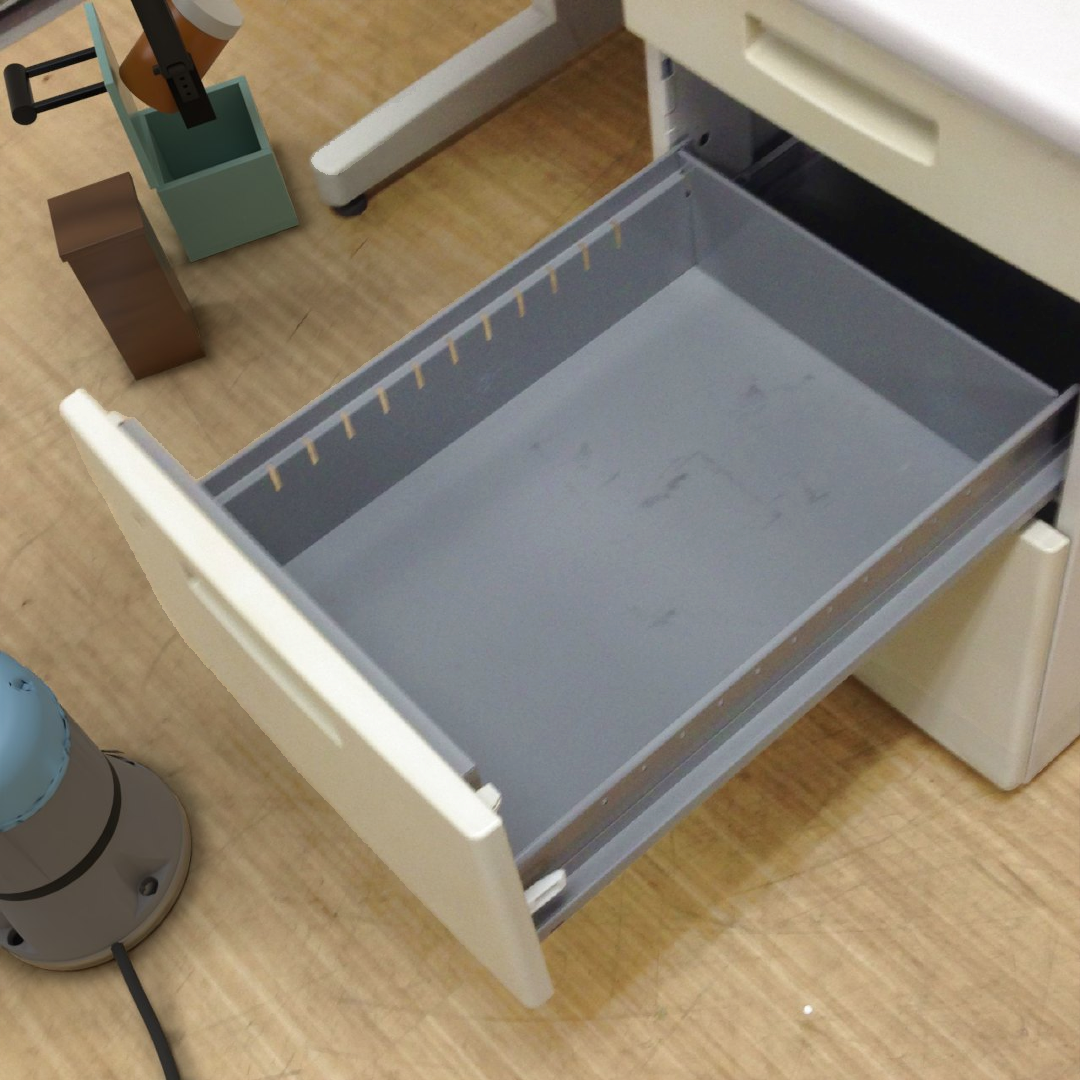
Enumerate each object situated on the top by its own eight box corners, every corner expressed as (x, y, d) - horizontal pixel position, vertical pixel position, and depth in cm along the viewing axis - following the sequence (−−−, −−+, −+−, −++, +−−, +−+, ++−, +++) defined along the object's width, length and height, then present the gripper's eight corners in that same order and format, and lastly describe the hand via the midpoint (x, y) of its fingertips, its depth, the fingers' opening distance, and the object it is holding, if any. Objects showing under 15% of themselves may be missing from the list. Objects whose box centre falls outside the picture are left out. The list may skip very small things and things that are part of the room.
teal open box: (272, 147, 147) (244, 74, 140) (299, 224, 140) (272, 152, 133) (167, 183, 146) (134, 112, 139) (190, 262, 140) (157, 192, 132)
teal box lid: (92, 1, 129) (-12, 33, 128) (114, 82, 123) (4, 116, 122) (136, 107, 139) (40, 137, 138) (159, 187, 132) (58, 219, 131)
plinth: (209, 357, 133) (143, 226, 120) (133, 384, 132) (58, 256, 119) (194, 303, 137) (128, 170, 124) (120, 329, 136) (46, 199, 123)
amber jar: (187, 125, 131) (250, 36, 127) (123, 96, 127) (187, 3, 123) (173, 82, 135) (235, -6, 130) (111, 52, 131) (172, -39, 126)
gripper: (161, -93, 109) (257, 151, 128) (118, -221, 120) (212, 22, 139) (61, -59, 108) (173, 180, 128) (26, -191, 119) (134, 49, 138)
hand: (193, 97), depth 133 cm, fingers closed on amber jar, 6 cm apart
